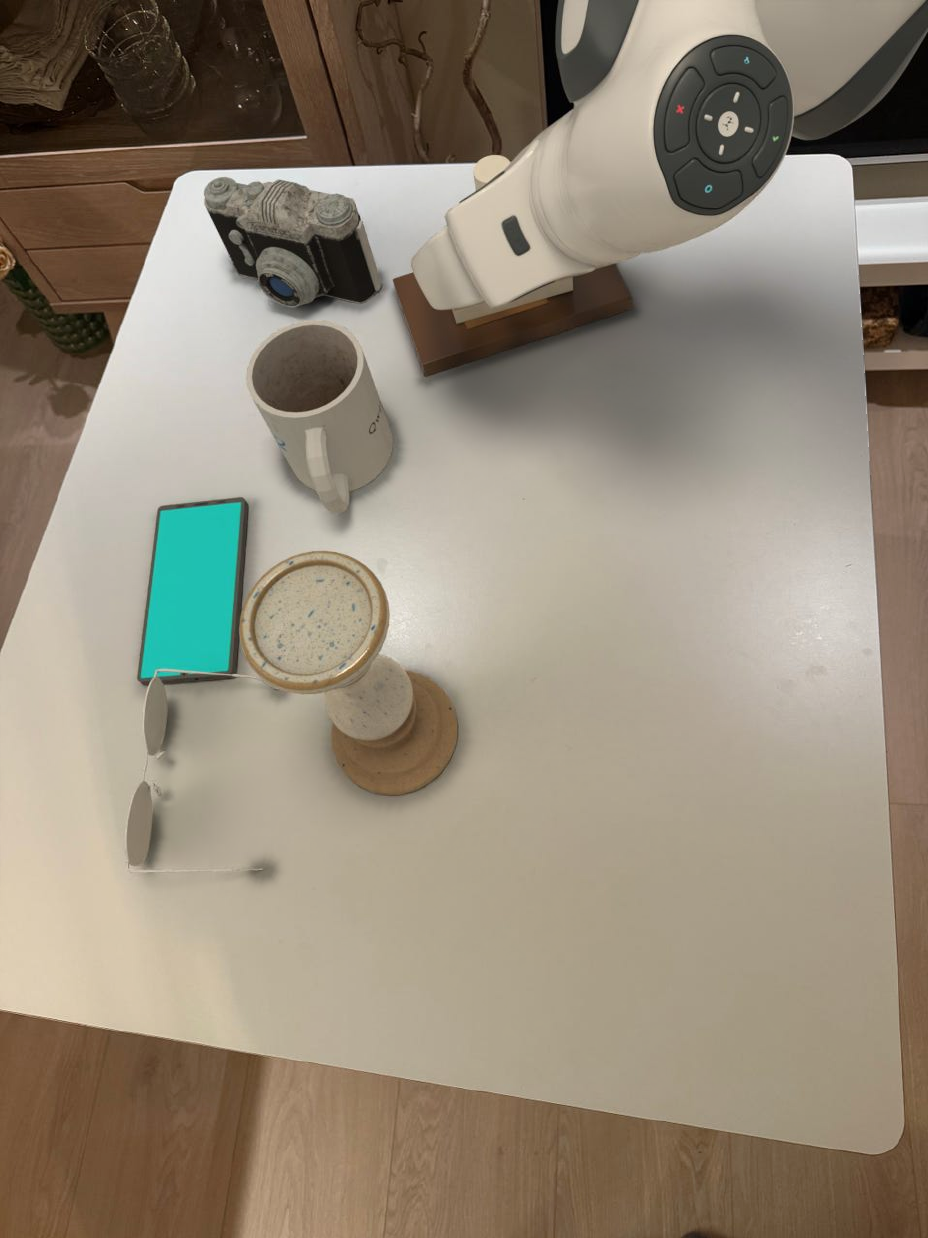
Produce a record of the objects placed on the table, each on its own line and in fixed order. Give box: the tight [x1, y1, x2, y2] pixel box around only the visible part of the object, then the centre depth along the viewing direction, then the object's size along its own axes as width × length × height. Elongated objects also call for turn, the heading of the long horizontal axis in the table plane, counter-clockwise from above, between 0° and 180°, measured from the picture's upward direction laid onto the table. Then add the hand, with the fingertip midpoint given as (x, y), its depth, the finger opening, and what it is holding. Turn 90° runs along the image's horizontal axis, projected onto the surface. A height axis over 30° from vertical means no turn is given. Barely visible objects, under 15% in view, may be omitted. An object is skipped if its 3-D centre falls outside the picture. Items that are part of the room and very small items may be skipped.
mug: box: [245, 319, 394, 514], centre depth 68 cm, size 12×9×10 cm
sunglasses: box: [124, 669, 279, 874], centre depth 61 cm, size 14×8×5 cm, turn 0°
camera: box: [203, 176, 382, 309], centre depth 76 cm, size 15×7×10 cm, turn 67°
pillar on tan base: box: [452, 154, 573, 324], centre depth 70 cm, size 10×5×12 cm, turn 104°
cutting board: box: [392, 263, 633, 377], centre depth 76 cm, size 18×10×2 cm, turn 106°
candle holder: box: [239, 550, 459, 796], centre depth 53 cm, size 9×9×20 cm
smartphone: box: [136, 496, 249, 686], centre depth 69 cm, size 7×1×15 cm
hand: (515, 228), depth 68 cm, fingers open, 8 cm apart
